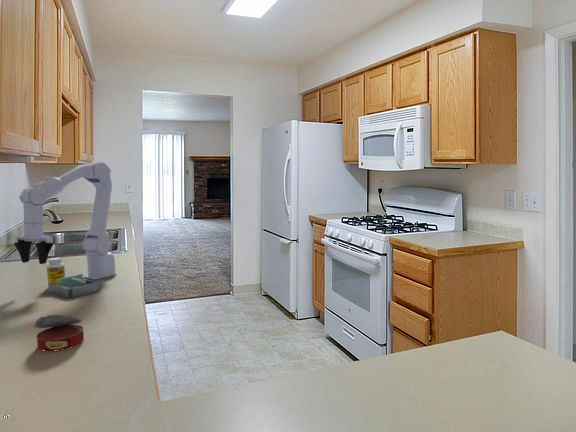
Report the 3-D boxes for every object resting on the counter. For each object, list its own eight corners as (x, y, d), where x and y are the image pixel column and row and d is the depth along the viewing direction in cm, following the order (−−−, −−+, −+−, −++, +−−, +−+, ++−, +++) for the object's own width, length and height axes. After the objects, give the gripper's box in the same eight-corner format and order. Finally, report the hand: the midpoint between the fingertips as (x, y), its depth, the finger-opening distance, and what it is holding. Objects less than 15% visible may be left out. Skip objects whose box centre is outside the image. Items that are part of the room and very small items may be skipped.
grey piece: (79, 285, 160) (78, 277, 159) (100, 290, 152) (99, 282, 152) (49, 292, 151) (48, 283, 151) (69, 298, 143) (69, 289, 143)
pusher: (82, 287, 156) (81, 273, 155) (96, 290, 151) (95, 276, 150) (60, 292, 150) (58, 278, 149) (73, 296, 144) (72, 281, 144)
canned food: (38, 368, 103) (16, 331, 103) (72, 347, 112) (53, 313, 112) (67, 353, 98) (44, 314, 98) (100, 332, 107) (80, 297, 107)
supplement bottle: (49, 289, 155) (46, 261, 153) (47, 286, 159) (45, 258, 158) (66, 287, 158) (64, 258, 156) (64, 284, 162) (62, 256, 161)
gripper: (6, 223, 149) (7, 263, 149) (40, 224, 144) (40, 265, 145) (24, 221, 155) (25, 260, 156) (57, 223, 151) (58, 262, 152)
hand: (34, 262), depth 151 cm, fingers open, 7 cm apart
